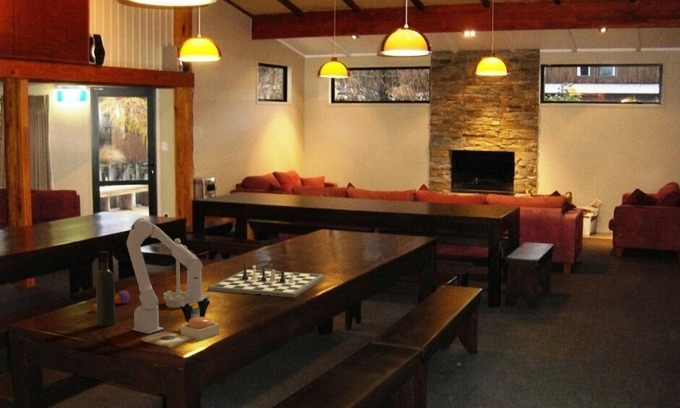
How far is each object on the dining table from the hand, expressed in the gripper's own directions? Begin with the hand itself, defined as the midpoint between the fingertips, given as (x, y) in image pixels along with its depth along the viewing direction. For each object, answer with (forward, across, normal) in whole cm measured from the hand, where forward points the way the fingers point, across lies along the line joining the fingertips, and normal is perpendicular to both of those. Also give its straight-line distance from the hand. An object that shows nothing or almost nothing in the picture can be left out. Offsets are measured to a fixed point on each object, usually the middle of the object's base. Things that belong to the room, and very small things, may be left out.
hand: (195, 320), depth 298 cm
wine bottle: (+2, -20, +30) cm, 36 cm away
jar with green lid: (+2, 0, 0) cm, 2 cm away
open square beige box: (+2, -8, -11) cm, 14 cm away
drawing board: (+2, -20, -6) cm, 21 cm away
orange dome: (0, -8, -11) cm, 14 cm away
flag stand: (+2, +20, +31) cm, 37 cm away
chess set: (+3, +75, +25) cm, 79 cm away
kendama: (+3, 0, +52) cm, 52 cm away
